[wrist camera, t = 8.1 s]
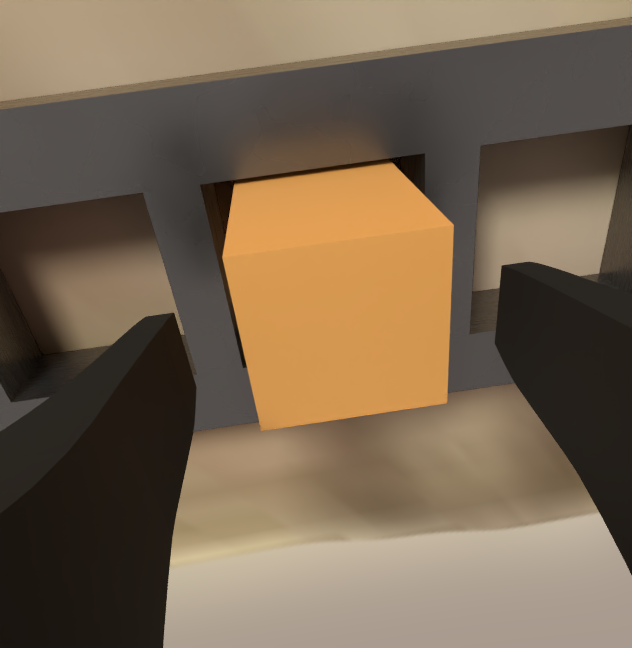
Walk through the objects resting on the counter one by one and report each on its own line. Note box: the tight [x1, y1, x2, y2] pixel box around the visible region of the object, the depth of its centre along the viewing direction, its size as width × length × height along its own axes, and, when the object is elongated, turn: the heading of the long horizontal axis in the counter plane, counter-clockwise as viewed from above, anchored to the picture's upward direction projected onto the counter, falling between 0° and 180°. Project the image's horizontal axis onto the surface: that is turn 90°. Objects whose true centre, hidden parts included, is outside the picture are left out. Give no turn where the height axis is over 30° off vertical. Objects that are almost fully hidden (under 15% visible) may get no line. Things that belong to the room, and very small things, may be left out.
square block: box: [222, 159, 454, 431], centre depth 12 cm, size 4×4×7 cm
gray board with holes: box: [0, 17, 632, 432], centre depth 15 cm, size 24×10×2 cm, turn 97°
